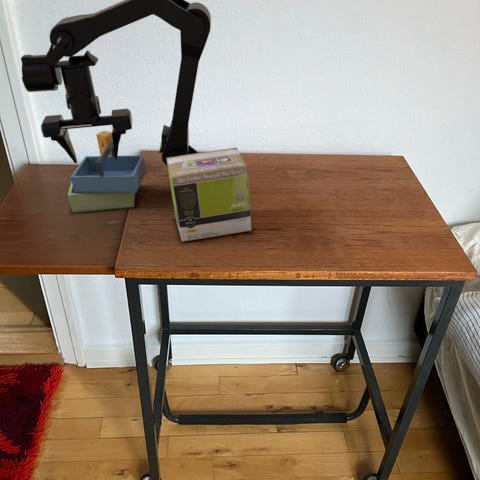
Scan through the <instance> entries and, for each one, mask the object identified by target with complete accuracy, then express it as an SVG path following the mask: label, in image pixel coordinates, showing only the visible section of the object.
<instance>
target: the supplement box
mask: <svg viewBox="0 0 480 480" xmlns="http://www.w3.org/2000/svg"><path fill="white" fill-rule="evenodd" d="M96 140H97V144H98V151H99V156H101V155H102V153H103V152H104V150H105V149H106V147H107V146H108V144H109V143H110V142H111V141H112V142H113V138H112V131H107V130H102V131H99V132H98V133H96ZM108 156H112V154H111V152H110V153H109V155H108Z"/></svg>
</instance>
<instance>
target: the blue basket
mask: <svg viewBox="0 0 480 480" xmlns="http://www.w3.org/2000/svg"><path fill="white" fill-rule="evenodd" d="M110 152H111V154H112V156H108V155H109V153H110ZM146 165H147V164H146V160H145V155H118V156H117V160H115V156H114V149H113V142H112V141H111V142H110V143H109V144H108V146H107V147H106V149H105V150H104V152H103V153H102V155H101V156H100V155H85V156H84V157H83V159H82V160H81V162H80V163H79V165H78V166H77V167H76V169H75V170H74V172H73V173H72V174H71V176H70V181H71V182H72V184H73V188H74V192H75V194H93V193H135V194H137V192H138V191H139V189H140V186H141V185H142V182H143V180H144V178H145V176H146V174H147V166H146Z"/></svg>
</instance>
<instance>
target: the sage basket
mask: <svg viewBox="0 0 480 480" xmlns="http://www.w3.org/2000/svg"><path fill="white" fill-rule="evenodd" d="M67 197H68V200H69V205H70V208H71V209H70V210H71V212H72V213H73V214H76V213H85V212H96V211H105V210H106V211H107V210H115V209H126V208H135V202H136V193H93V194H75V192H74V188H73V184H72V181H70V186H69V189H68V193H67ZM133 202H134V203H133Z"/></svg>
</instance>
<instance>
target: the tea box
mask: <svg viewBox="0 0 480 480" xmlns="http://www.w3.org/2000/svg"><path fill="white" fill-rule="evenodd" d="M166 167H167V171H168V179H169V185H170V192H171V198H172V205H173V210H174V216H175V220H176V225H177V228H178V232H179V236H180V239H181V240H180V241H181V242H183V243H184V242H189V241H196V240H201V239H207V238H215V237H221V236H226V235H233V234H238V233H245V232H252V216H251V200H250V198H251V197H250V184H249V168H248V165H247V163H246V162H245V160H244V158H243V156H242V154H241V152H240V151H239V149H238V147H230V148H229V147H228V148H224V149H223V148H222V149H217V150H211V151H202V152H199V153H195V154H189V155H182V156H176V157H168V158H167V166H166Z"/></svg>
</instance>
